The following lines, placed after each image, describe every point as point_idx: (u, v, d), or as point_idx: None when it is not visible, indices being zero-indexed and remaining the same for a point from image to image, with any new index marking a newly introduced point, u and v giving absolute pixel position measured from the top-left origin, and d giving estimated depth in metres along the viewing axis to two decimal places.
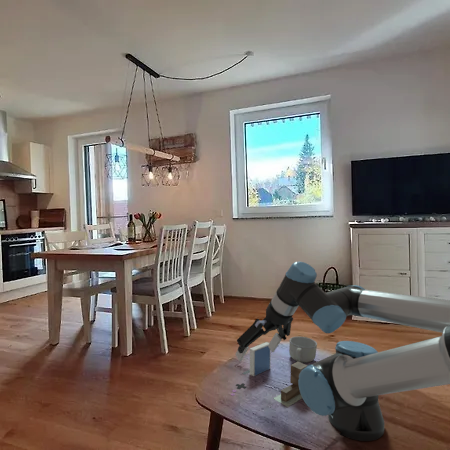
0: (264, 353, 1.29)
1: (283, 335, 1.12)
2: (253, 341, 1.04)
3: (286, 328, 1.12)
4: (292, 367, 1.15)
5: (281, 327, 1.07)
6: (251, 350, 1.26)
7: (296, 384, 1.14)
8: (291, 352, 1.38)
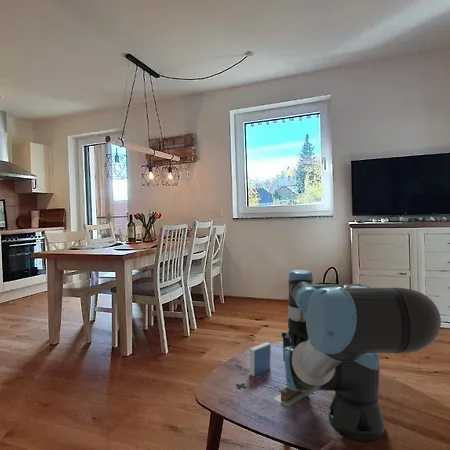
0: (264, 353, 1.29)
1: None
2: None
3: None
4: None
5: None
6: (251, 350, 1.26)
7: None
8: None
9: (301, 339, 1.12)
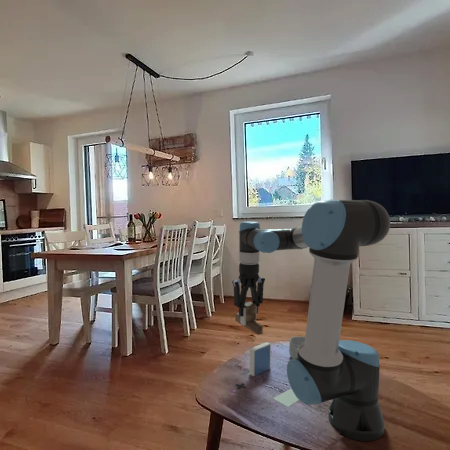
0: (264, 353, 1.29)
1: (257, 301, 1.33)
2: (244, 300, 1.30)
3: (259, 292, 1.34)
4: (248, 307, 1.30)
5: (255, 284, 1.31)
6: (251, 350, 1.26)
7: (252, 319, 1.32)
8: (291, 352, 1.38)
9: None
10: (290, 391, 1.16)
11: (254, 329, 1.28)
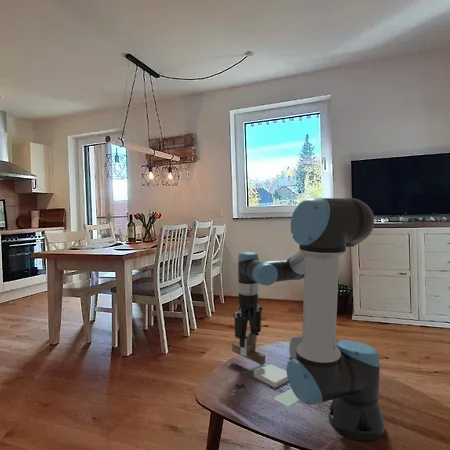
0: None
1: (256, 330, 1.34)
2: (245, 330, 1.31)
3: (257, 321, 1.36)
4: (249, 337, 1.31)
5: (254, 313, 1.33)
6: (274, 384, 1.18)
7: (252, 349, 1.32)
8: (291, 352, 1.38)
9: None
10: (290, 391, 1.16)
11: (257, 359, 1.29)
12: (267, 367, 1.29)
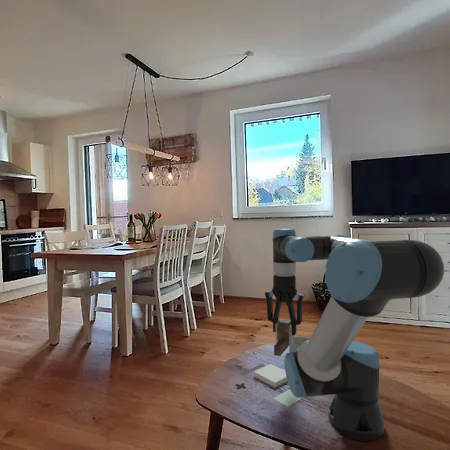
0: None
1: (292, 320, 1.16)
2: (276, 314, 1.18)
3: None
4: (279, 323, 1.17)
5: (288, 299, 1.16)
6: (274, 384, 1.18)
7: (284, 339, 1.17)
8: None
9: (288, 294, 1.16)
10: (290, 391, 1.16)
11: None
12: (267, 367, 1.29)
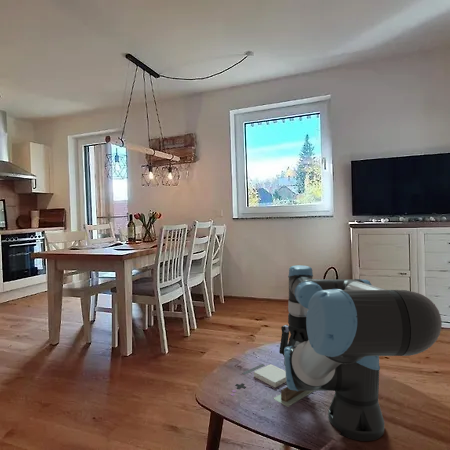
0: None
1: None
2: None
3: None
4: None
5: (302, 340, 1.11)
6: (274, 384, 1.18)
7: None
8: None
9: (301, 334, 1.12)
10: None
11: None
12: (267, 367, 1.29)
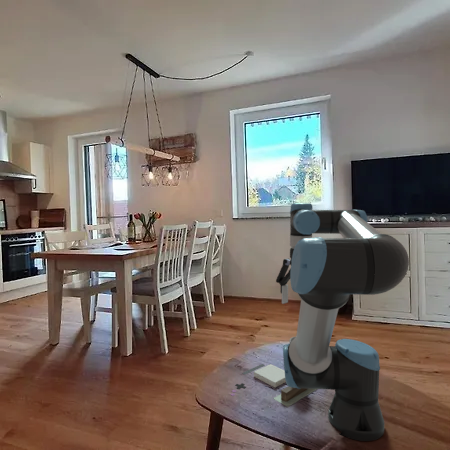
0: None
1: None
2: (285, 279, 1.26)
3: None
4: None
5: None
6: (274, 384, 1.18)
7: None
8: None
9: None
10: None
11: None
12: (267, 367, 1.29)
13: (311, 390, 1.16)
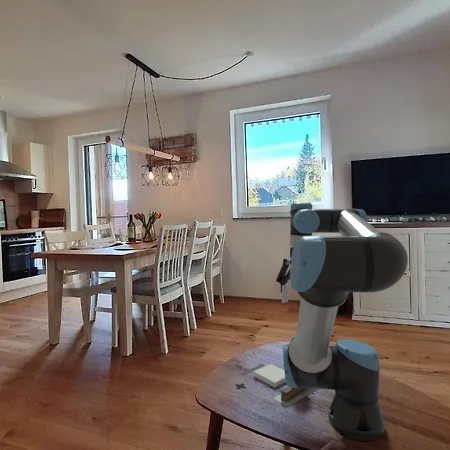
0: None
1: None
2: (285, 279, 1.26)
3: None
4: None
5: None
6: (274, 384, 1.18)
7: None
8: None
9: None
10: None
11: None
12: (267, 367, 1.29)
13: (311, 390, 1.16)
